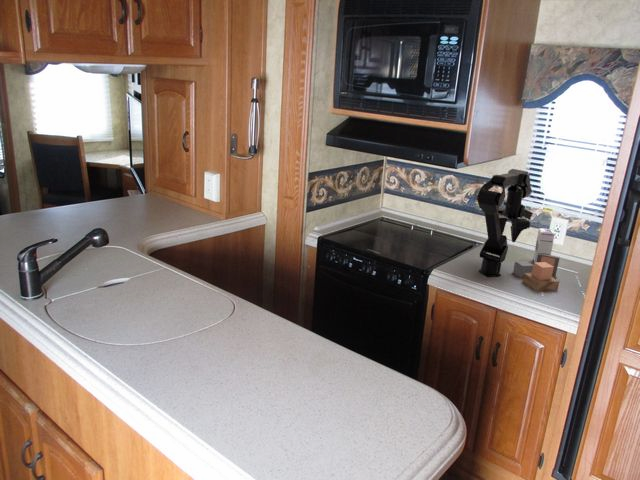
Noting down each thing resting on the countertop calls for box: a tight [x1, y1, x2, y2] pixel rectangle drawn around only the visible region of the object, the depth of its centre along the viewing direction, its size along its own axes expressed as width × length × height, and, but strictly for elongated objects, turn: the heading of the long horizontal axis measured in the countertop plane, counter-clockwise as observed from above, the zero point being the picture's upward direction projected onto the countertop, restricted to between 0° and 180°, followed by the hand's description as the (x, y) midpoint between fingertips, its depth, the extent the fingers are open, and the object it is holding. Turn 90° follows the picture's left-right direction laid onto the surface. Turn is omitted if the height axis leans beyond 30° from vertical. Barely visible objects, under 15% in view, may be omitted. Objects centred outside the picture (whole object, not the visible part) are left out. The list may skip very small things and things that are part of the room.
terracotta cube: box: [532, 262, 554, 280], centre depth 208 cm, size 5×5×5 cm
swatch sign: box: [537, 253, 560, 279], centre depth 221 cm, size 8×5×8 cm, turn 66°
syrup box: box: [532, 227, 556, 264], centre depth 232 cm, size 6×6×14 cm
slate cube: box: [512, 260, 534, 279], centre depth 219 cm, size 5×5×5 cm
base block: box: [522, 273, 560, 293], centre depth 209 cm, size 9×9×4 cm
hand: (507, 238), depth 224 cm, fingers open, 9 cm apart
